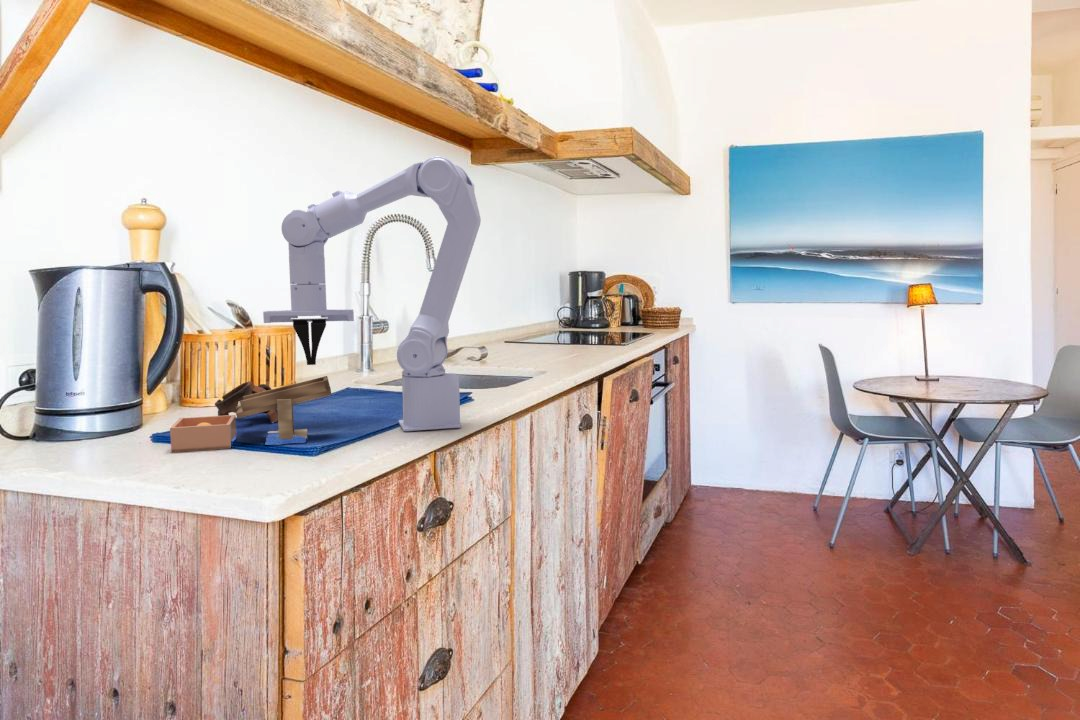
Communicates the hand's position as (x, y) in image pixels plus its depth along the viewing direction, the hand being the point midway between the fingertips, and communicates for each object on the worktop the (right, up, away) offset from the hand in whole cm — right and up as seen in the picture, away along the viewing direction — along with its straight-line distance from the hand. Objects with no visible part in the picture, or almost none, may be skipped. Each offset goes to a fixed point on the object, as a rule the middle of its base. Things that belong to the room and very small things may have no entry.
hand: (311, 364), depth 124 cm
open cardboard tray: (-12, -12, -14) cm, 22 cm away
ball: (-12, -10, -14) cm, 21 cm away
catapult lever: (-2, -6, -8) cm, 10 cm away
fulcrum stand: (-1, -12, -10) cm, 16 cm away
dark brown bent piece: (-12, -10, +4) cm, 16 cm away
